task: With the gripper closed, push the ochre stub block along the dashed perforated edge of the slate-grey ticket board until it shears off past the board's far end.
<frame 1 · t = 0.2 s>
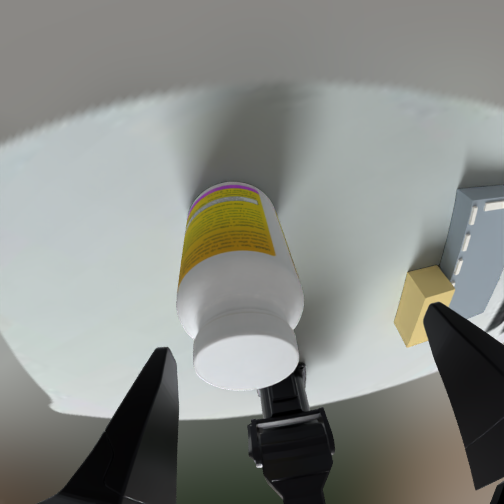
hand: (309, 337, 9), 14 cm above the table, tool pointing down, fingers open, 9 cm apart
supplement bottle: (231, 218, 23), on the table
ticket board: (470, 256, 28), on the table
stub: (422, 307, 29), point 2 cm above the table, slide at 0.0 cm
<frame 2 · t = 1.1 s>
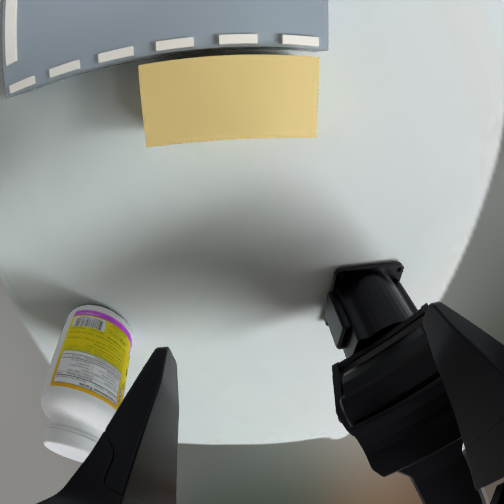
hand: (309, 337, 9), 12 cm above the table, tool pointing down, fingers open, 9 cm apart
supplement bottle: (101, 325, 25), on the table
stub: (228, 93, 14), point 2 cm above the table, slide at 0.0 cm
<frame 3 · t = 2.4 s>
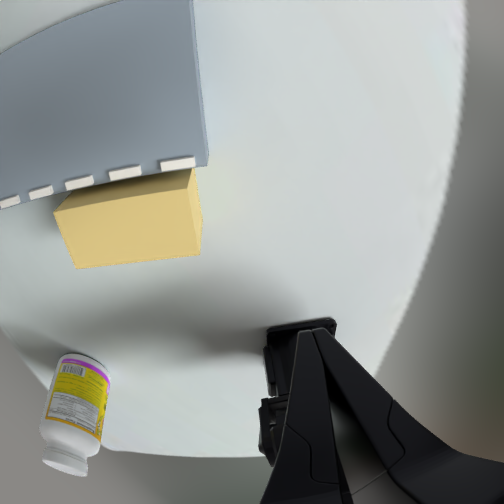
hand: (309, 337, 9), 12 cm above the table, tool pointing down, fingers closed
supplement bottle: (85, 367, 29), on the table
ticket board: (60, 107, 14), on the table
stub: (131, 215, 17), point 2 cm above the table, slide at 0.0 cm
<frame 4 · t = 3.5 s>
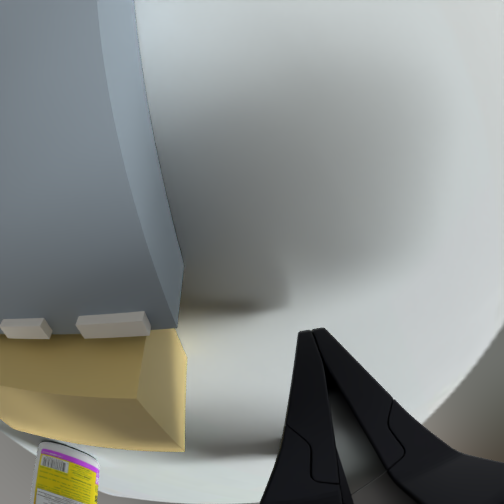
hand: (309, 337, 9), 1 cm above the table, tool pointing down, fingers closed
supplement bottle: (70, 450, 20), on the table
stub: (64, 372, 8), point 2 cm above the table, slide at 0.0 cm
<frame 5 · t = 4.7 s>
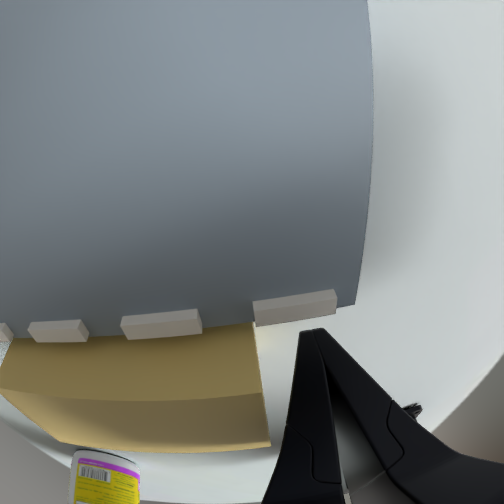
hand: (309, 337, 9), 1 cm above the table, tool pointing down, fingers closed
supplement bottle: (107, 457, 21), on the table
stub: (133, 376, 8), point 2 cm above the table, slide at 1.5 cm, touching gripper
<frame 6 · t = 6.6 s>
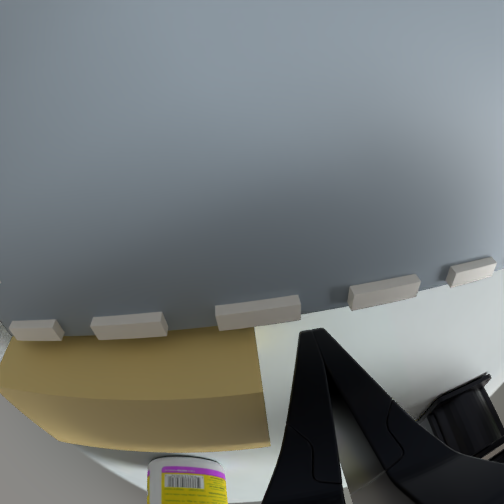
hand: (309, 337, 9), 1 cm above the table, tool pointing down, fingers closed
supplement bottle: (186, 462, 21), on the table
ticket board: (294, 73, 6), on the table
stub: (133, 375, 8), point 2 cm above the table, slide at 9.6 cm, touching gripper
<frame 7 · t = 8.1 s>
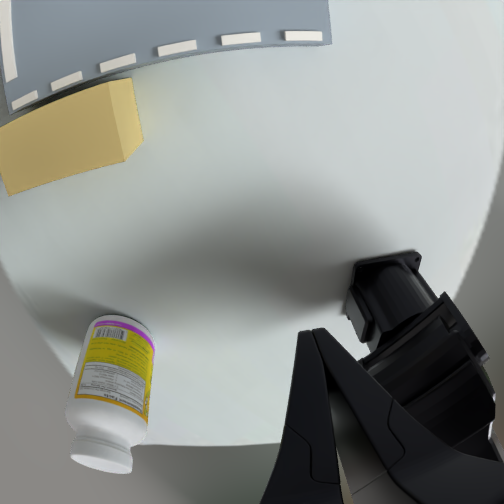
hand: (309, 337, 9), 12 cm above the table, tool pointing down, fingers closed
supplement bottle: (122, 334, 26), on the table
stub: (64, 134, 13), point 2 cm above the table, slide at 9.7 cm
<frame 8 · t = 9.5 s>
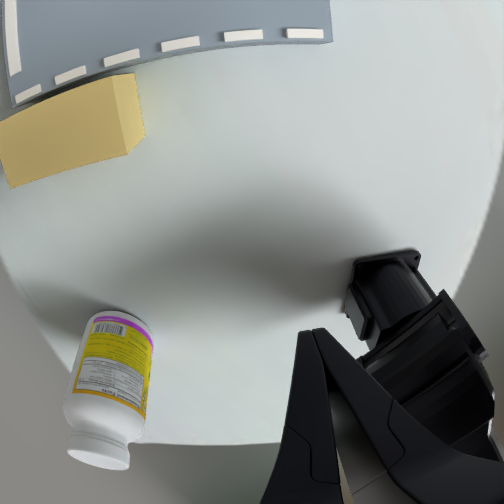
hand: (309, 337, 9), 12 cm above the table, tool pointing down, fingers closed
supplement bottle: (121, 330, 26), on the table
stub: (67, 128, 13), point 2 cm above the table, slide at 9.7 cm
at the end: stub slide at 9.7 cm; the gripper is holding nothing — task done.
